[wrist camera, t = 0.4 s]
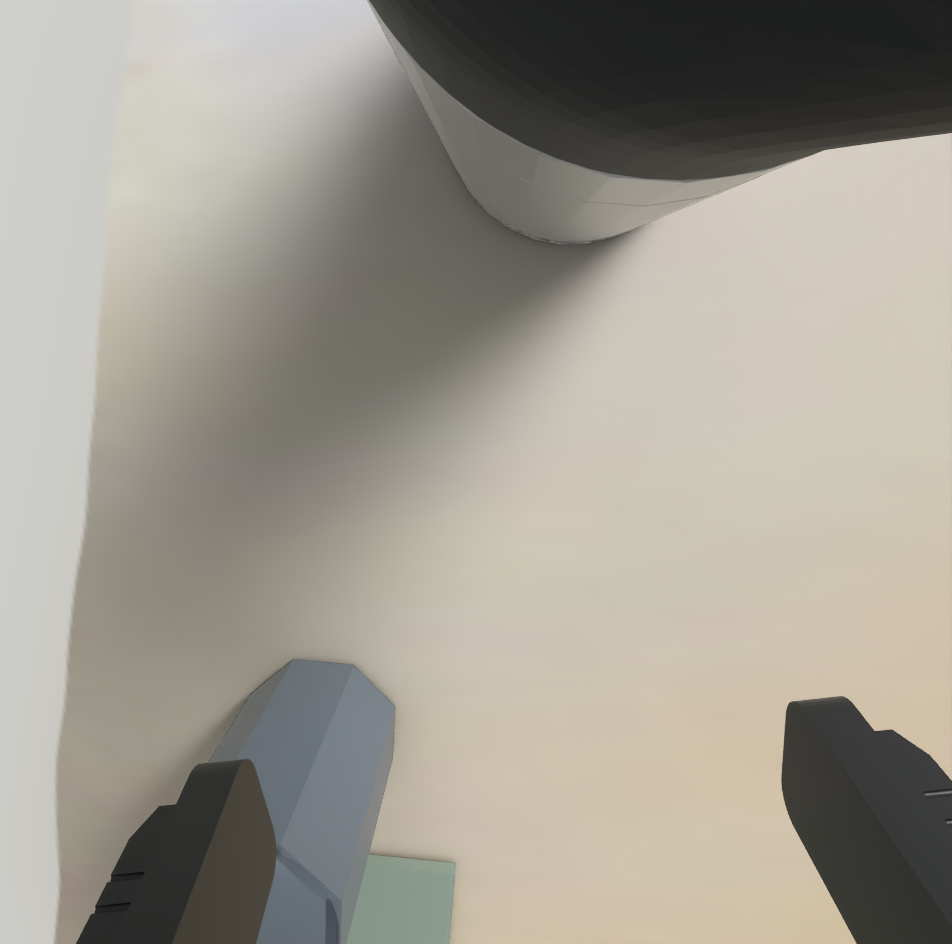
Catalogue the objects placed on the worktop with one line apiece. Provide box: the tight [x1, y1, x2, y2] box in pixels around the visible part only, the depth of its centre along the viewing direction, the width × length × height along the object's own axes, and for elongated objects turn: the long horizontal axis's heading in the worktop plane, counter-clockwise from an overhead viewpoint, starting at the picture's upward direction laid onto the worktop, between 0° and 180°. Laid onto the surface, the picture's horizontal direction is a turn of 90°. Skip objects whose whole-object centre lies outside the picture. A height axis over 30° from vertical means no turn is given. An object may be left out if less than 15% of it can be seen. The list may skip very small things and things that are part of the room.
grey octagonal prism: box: [208, 659, 395, 944], centre depth 26 cm, size 6×6×10 cm
